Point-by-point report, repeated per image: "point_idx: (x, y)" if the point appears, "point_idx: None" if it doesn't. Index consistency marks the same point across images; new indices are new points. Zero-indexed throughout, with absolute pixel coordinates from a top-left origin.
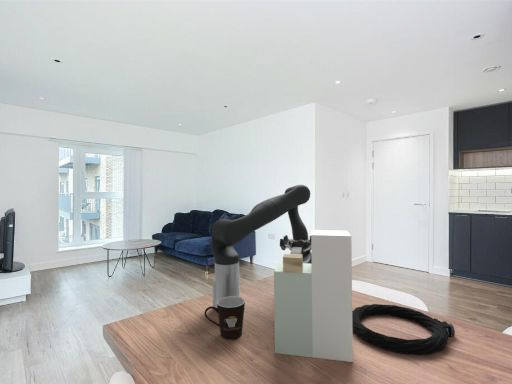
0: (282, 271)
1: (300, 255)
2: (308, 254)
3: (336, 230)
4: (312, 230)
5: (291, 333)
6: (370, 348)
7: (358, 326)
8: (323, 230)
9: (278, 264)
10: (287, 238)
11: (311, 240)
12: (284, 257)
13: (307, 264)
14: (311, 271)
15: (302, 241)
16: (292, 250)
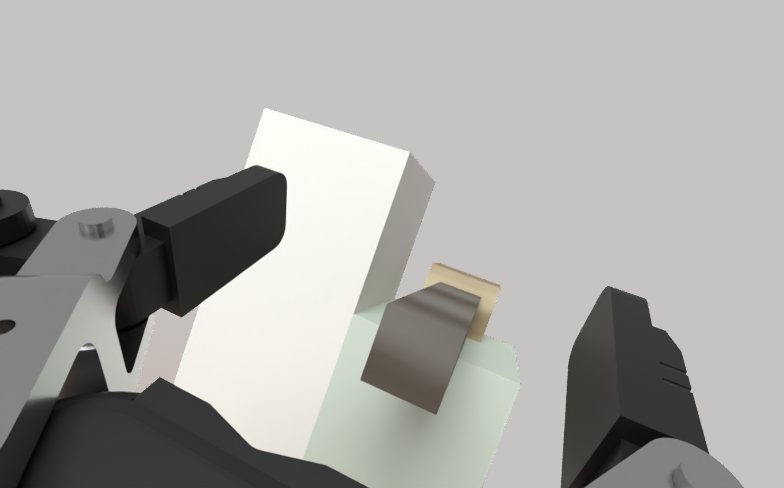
0: (485, 335)
1: (441, 265)
2: None
3: (305, 120)
4: (411, 155)
5: None
6: None
7: None
8: (361, 139)
9: (514, 369)
10: (595, 354)
11: (428, 198)
12: (494, 283)
13: (380, 320)
14: (390, 300)
15: (190, 393)
16: (466, 312)
